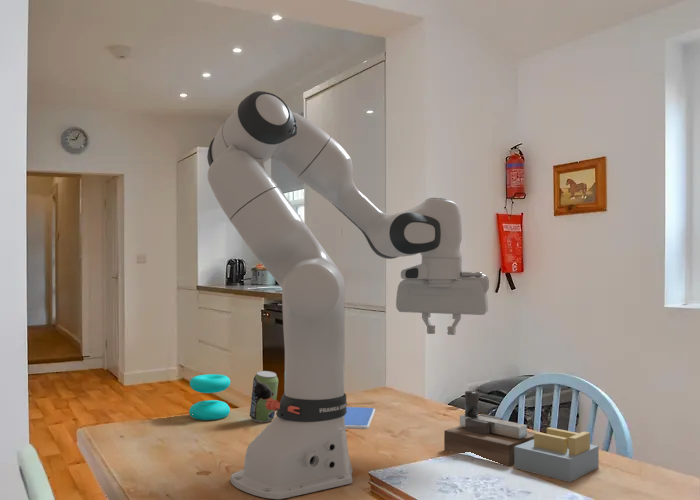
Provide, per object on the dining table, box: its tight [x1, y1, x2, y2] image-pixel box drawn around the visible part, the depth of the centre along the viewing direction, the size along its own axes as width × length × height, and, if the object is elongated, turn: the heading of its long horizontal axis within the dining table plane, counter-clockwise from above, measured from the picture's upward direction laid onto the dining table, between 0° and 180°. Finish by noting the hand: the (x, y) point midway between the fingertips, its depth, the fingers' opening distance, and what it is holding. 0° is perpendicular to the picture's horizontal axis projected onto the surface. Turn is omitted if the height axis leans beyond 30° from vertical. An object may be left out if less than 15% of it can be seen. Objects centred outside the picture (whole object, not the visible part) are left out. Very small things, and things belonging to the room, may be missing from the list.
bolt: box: [459, 390, 528, 439], centre depth 128 cm, size 3×14×7 cm, turn 45°
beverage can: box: [249, 370, 279, 423], centre depth 153 cm, size 6×7×12 cm
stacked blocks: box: [513, 427, 600, 483], centre depth 118 cm, size 12×11×7 cm
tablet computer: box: [344, 406, 376, 430], centre depth 156 cm, size 19×13×1 cm, turn 173°
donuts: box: [188, 373, 231, 421], centre depth 157 cm, size 10×10×10 cm
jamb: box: [443, 413, 535, 467], centre depth 128 cm, size 12×15×6 cm
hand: (441, 334), depth 138 cm, fingers open, 3 cm apart
